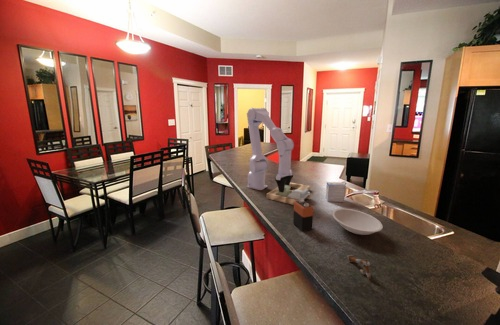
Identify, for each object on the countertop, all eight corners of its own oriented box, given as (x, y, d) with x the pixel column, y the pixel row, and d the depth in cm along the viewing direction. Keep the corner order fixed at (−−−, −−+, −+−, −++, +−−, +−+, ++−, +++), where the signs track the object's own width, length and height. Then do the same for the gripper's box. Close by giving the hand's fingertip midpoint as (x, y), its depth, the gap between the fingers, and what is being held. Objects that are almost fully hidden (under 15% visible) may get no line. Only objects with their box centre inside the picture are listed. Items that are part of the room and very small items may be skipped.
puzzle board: (266, 198, 111) (266, 193, 110) (286, 185, 130) (286, 181, 129) (302, 206, 101) (302, 201, 100) (317, 191, 120) (318, 187, 119)
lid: (287, 197, 105) (287, 191, 104) (295, 190, 113) (295, 186, 112) (302, 200, 101) (303, 195, 100) (310, 193, 109) (310, 188, 108)
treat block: (277, 197, 111) (278, 186, 110) (281, 195, 115) (282, 184, 114) (286, 199, 109) (286, 188, 108) (289, 196, 113) (290, 185, 111)
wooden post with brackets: (369, 280, 56) (365, 261, 56) (349, 271, 63) (347, 254, 64) (375, 279, 56) (372, 260, 57) (355, 270, 64) (352, 254, 64)
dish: (322, 223, 86) (323, 211, 84) (351, 217, 90) (352, 206, 89) (358, 249, 69) (360, 235, 68) (391, 240, 74) (393, 227, 73)
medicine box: (341, 199, 110) (343, 182, 108) (344, 202, 105) (346, 185, 103) (325, 198, 111) (326, 181, 109) (327, 201, 106) (328, 184, 104)
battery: (302, 221, 87) (303, 197, 85) (312, 229, 81) (314, 204, 79) (292, 223, 86) (293, 199, 83) (302, 232, 79) (303, 206, 77)
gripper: (286, 168, 100) (285, 196, 103) (298, 162, 112) (296, 187, 115) (272, 166, 104) (271, 193, 107) (285, 160, 116) (284, 185, 119)
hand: (283, 190), depth 111 cm, fingers open, 5 cm apart
